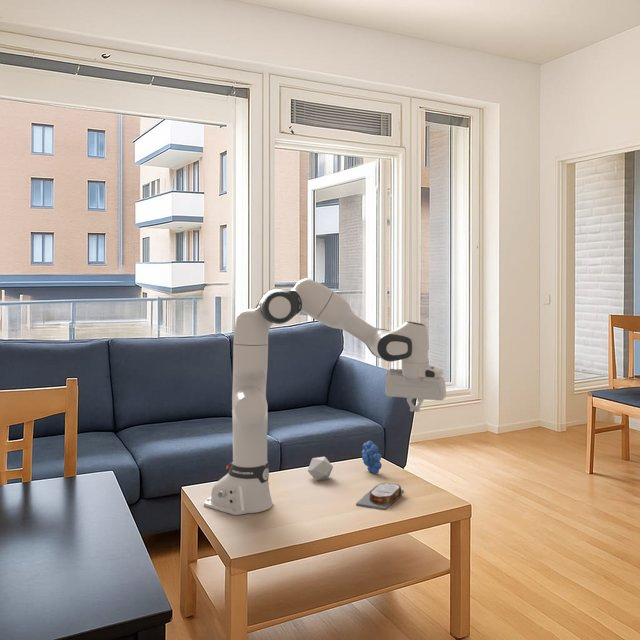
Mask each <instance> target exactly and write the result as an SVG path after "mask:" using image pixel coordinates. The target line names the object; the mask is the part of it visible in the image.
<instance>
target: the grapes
mask: <svg viewBox="0 0 640 640" xmlns="http://www.w3.org/2000/svg"><path fill="white" fill-rule="evenodd" d="M378 451H379V447H378V445H376V444H374V442H373V441H372V440H367V442H363V445H362V450H361V456H362V461H363V464H364V466H366V467H367V471H368V472H369V473H371V474H372V473H373V474H375V475H377V474H379V471H380V470H381V469H382V465H383V464H382V463H381V460H382V455H381V453H380V452H378Z"/></svg>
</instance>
